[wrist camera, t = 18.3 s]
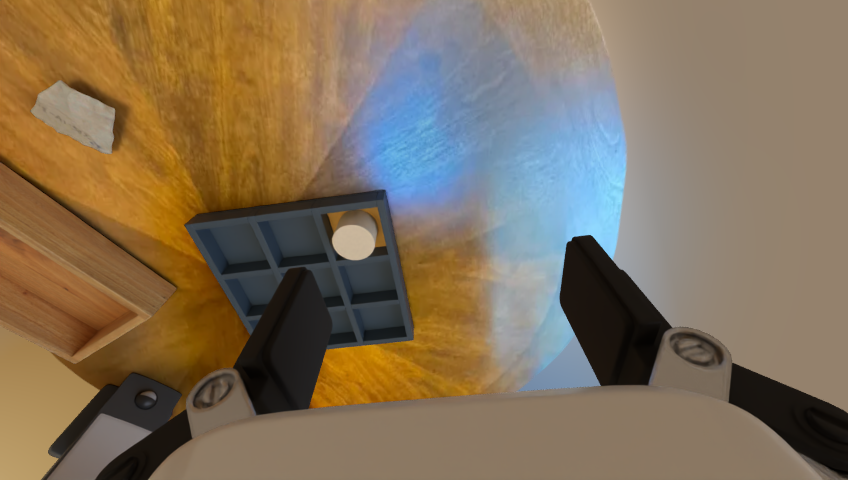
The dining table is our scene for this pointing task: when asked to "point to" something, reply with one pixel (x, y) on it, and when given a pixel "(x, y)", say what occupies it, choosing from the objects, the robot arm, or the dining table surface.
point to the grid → (309, 264)
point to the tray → (66, 276)
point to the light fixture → (110, 427)
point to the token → (355, 235)
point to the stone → (76, 116)
